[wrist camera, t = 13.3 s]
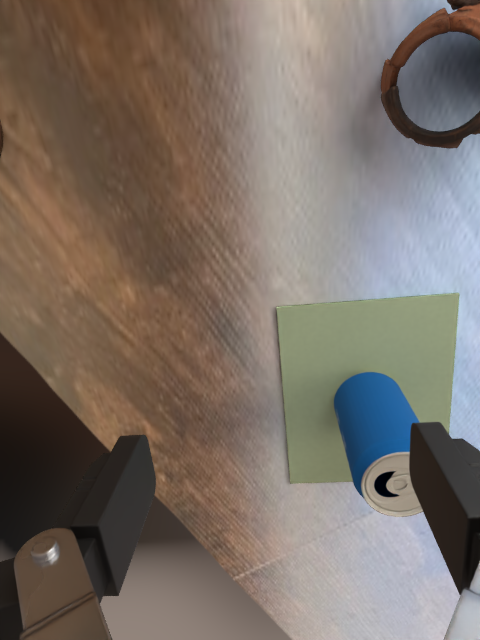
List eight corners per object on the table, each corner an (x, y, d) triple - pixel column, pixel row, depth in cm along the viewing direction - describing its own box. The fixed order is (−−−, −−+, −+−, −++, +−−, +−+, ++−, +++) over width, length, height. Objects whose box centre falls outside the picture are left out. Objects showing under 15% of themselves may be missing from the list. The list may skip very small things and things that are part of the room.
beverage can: (327, 374, 40) (348, 456, 29) (396, 362, 39) (446, 441, 28) (338, 430, 42) (362, 527, 31) (404, 420, 41) (453, 515, 30)
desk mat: (290, 481, 45) (290, 483, 45) (276, 306, 39) (276, 307, 38) (444, 476, 44) (445, 478, 43) (458, 292, 37) (459, 293, 37)
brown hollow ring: (515, 130, 33) (510, 160, 27) (391, 130, 37) (363, 156, 31) (568, -79, 26) (575, -98, 20) (407, -49, 30) (376, -58, 25)
